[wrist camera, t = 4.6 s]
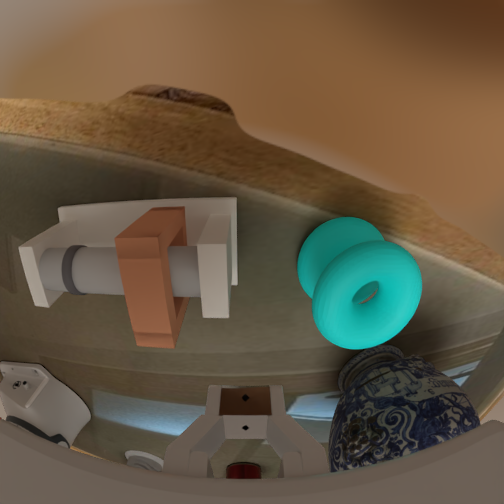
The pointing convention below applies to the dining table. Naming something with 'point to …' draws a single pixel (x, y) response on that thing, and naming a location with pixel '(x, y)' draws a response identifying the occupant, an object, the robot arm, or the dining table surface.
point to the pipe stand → (105, 256)
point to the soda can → (243, 471)
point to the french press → (144, 460)
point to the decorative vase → (394, 409)
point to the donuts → (358, 283)
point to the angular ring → (152, 275)
